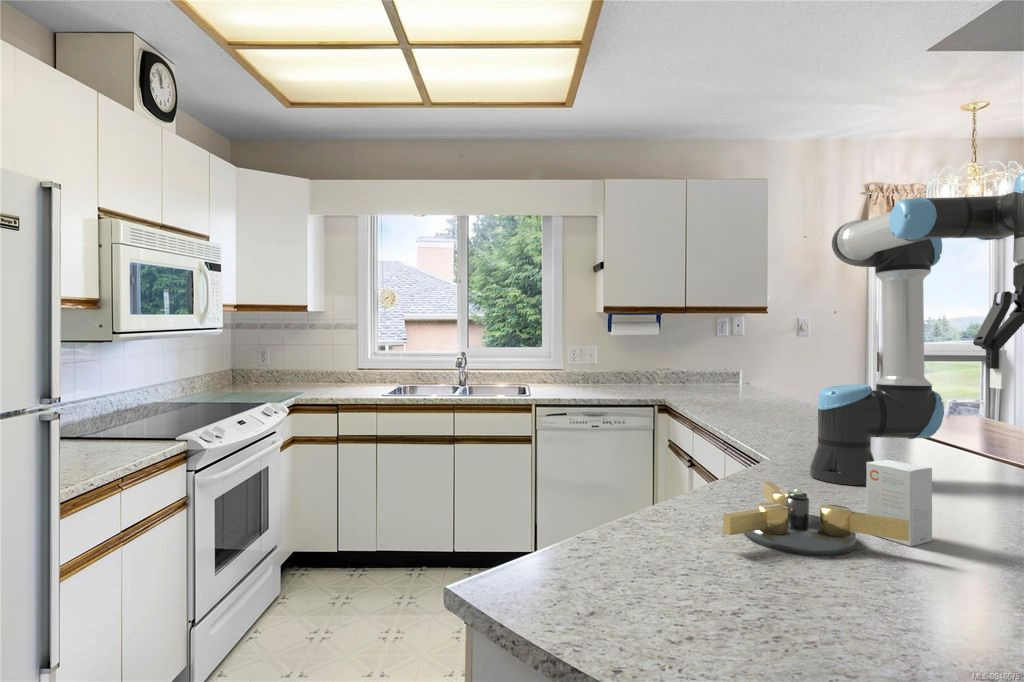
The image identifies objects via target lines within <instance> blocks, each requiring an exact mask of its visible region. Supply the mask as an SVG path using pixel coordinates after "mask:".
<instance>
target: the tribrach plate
mask: <svg viewBox="0 0 1024 682" xmlns="http://www.w3.org/2000/svg"><path fill="white" fill-rule="evenodd" d="M787 507H788V533H786V534H770V533H766V532H762V531H760V530H757V531H752V532H746V533H743V535H744V537H746V538H747V539H748V540H750V541H751V542H753V543H755V544H757V545H760V546H763V547H765V548H768V549H772V550H775V551H777V552H784V553H788V554H794V555H801V556H809V557H810V556H812V557H833V556H834V557H835V556H841V555H846V554H849V553H852V552H853V551H854V550H855V549H856V545H857V544H856V543H857V542H856V541H857V539H856V538H857V534H856V532H852V534H851V535H850V536H834V535H829V534H826V533H823V532H821V531H820V515H819V516H818V515H814V514H810V498H808V494H807V493H804V492H803V491H802V490H801V489H800V488H794V489H793V490H792V491H790V492H789V493H788V496H787Z"/></svg>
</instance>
